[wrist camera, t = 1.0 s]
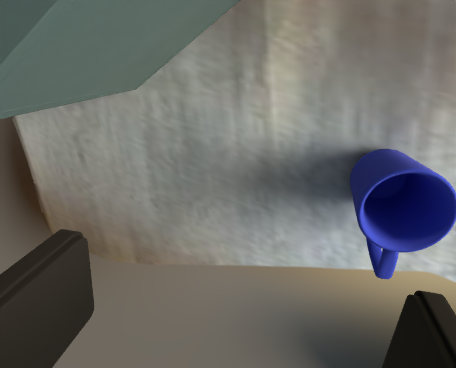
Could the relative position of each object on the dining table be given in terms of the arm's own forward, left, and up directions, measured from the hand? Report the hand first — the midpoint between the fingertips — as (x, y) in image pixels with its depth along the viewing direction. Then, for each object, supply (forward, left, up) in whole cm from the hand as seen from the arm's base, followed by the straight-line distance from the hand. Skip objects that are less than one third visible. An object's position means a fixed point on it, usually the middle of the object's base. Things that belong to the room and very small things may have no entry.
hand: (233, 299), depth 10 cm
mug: (-5, +14, -31) cm, 34 cm away
